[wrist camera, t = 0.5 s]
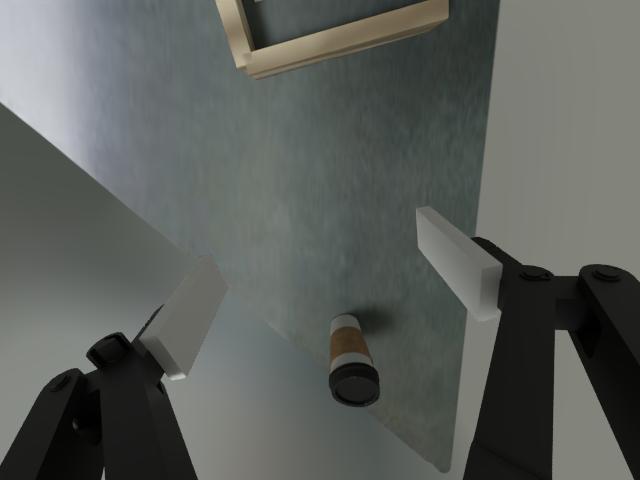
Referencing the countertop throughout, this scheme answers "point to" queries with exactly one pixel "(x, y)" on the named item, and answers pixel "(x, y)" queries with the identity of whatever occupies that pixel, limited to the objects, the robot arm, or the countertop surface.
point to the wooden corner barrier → (325, 37)
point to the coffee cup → (351, 364)
